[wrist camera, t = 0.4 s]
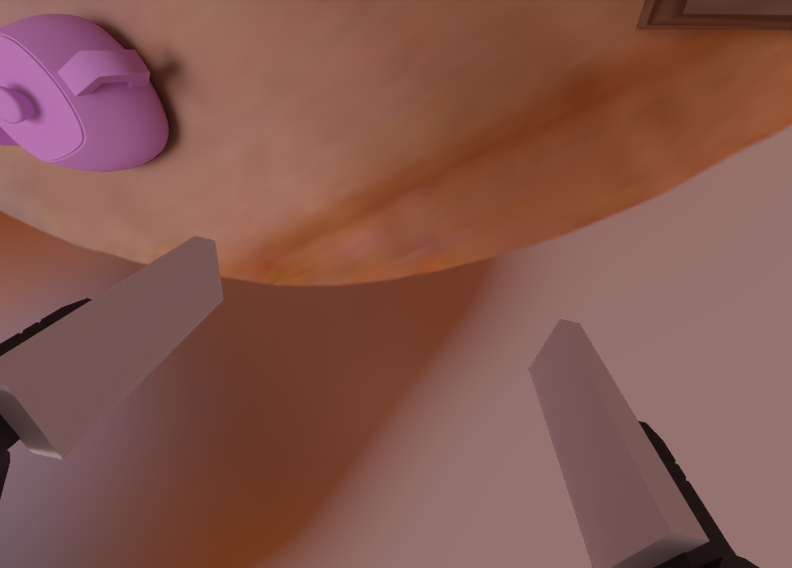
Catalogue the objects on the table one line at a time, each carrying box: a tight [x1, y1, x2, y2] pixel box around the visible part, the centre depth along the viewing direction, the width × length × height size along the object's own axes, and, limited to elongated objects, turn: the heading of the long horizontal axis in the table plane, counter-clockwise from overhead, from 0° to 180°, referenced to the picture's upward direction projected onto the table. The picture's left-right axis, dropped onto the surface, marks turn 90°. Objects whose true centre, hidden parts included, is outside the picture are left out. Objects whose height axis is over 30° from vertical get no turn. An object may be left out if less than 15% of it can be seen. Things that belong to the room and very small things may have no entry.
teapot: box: [0, 14, 169, 172], centre depth 31 cm, size 13×20×11 cm
